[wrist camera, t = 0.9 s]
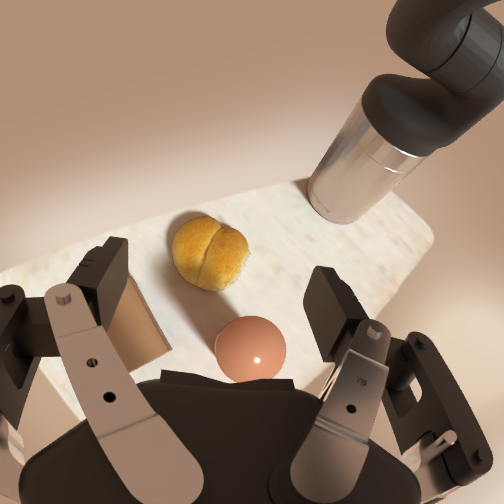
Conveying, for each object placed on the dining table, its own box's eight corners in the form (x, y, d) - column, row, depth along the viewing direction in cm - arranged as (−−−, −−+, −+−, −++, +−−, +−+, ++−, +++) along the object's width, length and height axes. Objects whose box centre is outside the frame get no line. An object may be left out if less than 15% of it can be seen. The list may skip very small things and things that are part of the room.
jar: (244, 314, 34) (262, 302, 23) (269, 354, 33) (298, 360, 22) (203, 339, 32) (202, 338, 22) (229, 379, 31) (240, 398, 21)
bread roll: (193, 212, 37) (192, 198, 33) (255, 244, 37) (261, 233, 33) (159, 267, 34) (154, 258, 30) (225, 303, 34) (227, 298, 30)
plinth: (135, 282, 33) (127, 274, 29) (172, 349, 31) (168, 350, 27) (76, 316, 30) (62, 312, 26) (110, 382, 28) (98, 387, 25)
